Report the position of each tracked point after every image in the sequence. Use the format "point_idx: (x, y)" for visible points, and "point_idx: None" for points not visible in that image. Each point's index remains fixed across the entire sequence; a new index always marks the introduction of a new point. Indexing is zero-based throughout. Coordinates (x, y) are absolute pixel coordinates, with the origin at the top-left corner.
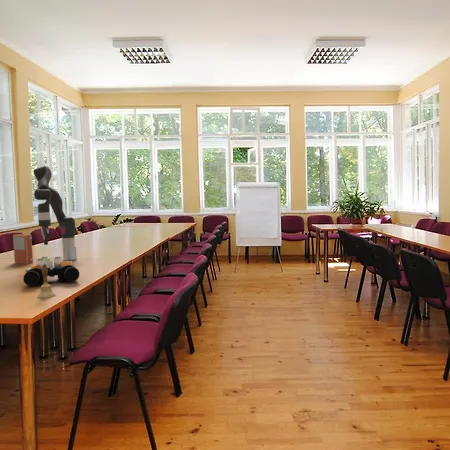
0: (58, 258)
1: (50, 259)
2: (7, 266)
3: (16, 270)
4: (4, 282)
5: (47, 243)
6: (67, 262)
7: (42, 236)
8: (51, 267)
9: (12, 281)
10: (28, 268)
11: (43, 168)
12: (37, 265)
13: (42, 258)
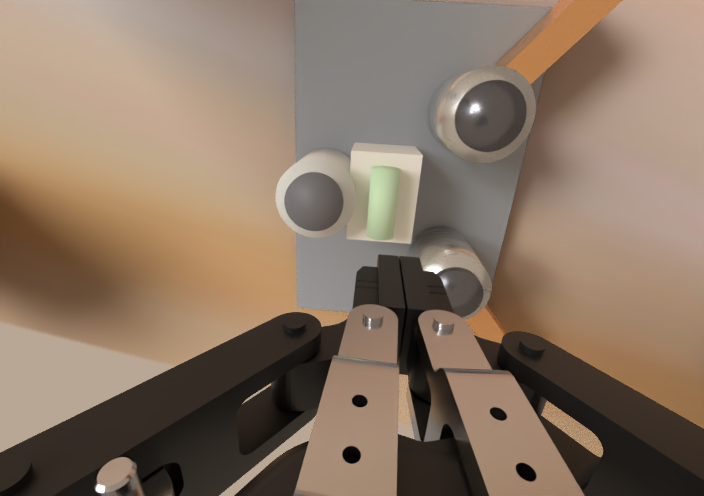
0: (532, 124)
1: (399, 169)
2: (25, 314)
3: (241, 329)
4: None
5: (435, 277)
6: (581, 34)
7: (292, 422)
8: (429, 165)
9: (586, 441)
10: (315, 296)
11: None
12: (489, 312)
13: (337, 231)
